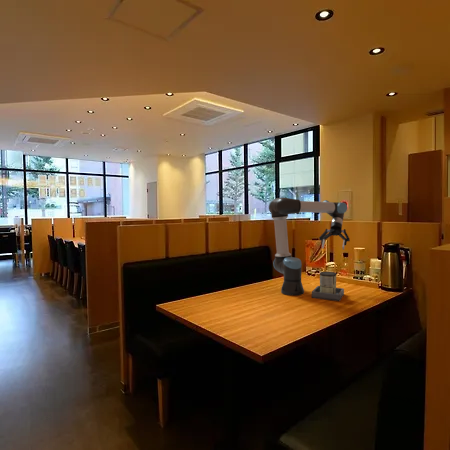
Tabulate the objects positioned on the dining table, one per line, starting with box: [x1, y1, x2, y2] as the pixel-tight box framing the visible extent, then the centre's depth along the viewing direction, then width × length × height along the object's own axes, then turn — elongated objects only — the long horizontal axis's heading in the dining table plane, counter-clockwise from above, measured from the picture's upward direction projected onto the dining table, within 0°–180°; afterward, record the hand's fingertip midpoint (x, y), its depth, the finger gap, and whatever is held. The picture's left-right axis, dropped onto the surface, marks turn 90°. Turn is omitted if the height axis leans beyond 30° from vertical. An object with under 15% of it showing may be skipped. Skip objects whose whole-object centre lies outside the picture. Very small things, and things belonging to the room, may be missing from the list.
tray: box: [311, 285, 345, 302], centre depth 206 cm, size 17×17×4 cm
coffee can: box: [319, 271, 337, 294], centre depth 205 cm, size 10×10×14 cm
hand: (332, 248), depth 218 cm, fingers open, 13 cm apart
